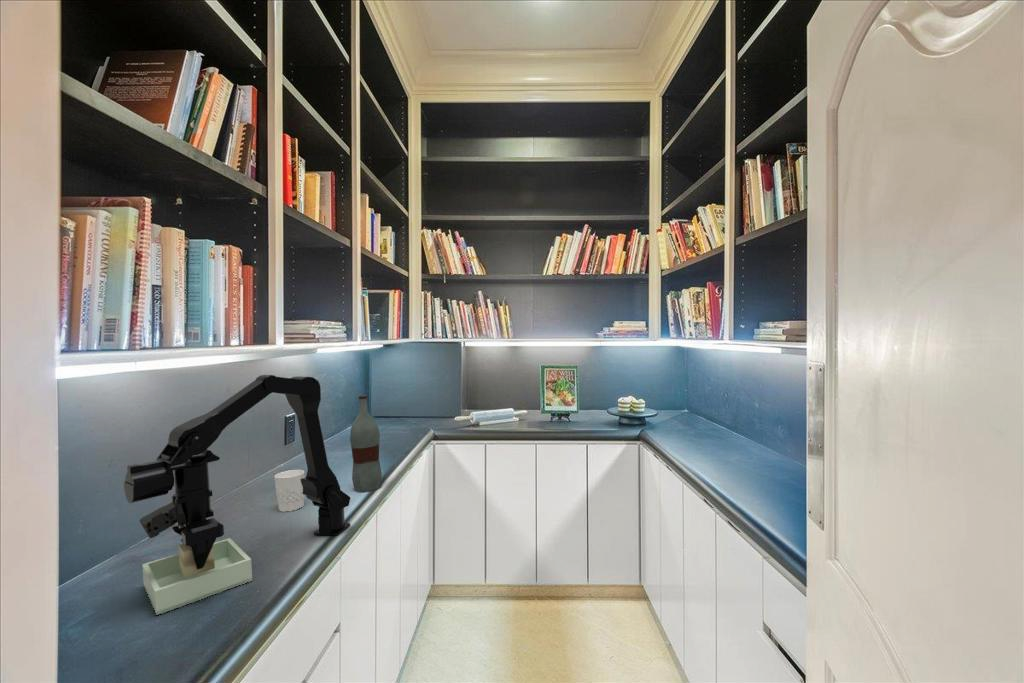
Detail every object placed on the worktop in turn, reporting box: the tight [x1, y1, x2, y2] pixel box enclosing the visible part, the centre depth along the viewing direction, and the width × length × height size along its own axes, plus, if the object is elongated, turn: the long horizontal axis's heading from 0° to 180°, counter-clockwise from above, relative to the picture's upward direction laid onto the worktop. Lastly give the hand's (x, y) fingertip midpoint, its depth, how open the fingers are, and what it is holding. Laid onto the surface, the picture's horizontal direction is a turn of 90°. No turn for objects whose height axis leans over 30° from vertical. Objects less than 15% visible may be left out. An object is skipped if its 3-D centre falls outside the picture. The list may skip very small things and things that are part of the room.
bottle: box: [349, 394, 383, 493], centre depth 152 cm, size 9×9×30 cm
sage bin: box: [142, 537, 253, 616], centre depth 95 cm, size 16×16×4 cm
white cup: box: [274, 469, 305, 513], centre depth 137 cm, size 8×8×10 cm
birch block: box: [178, 543, 215, 578], centre depth 95 cm, size 5×5×5 cm
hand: (197, 564), depth 95 cm, fingers closed on birch block, 5 cm apart
